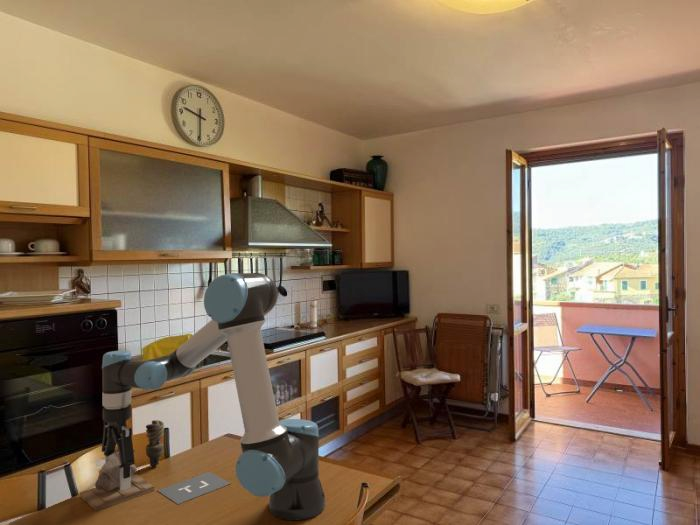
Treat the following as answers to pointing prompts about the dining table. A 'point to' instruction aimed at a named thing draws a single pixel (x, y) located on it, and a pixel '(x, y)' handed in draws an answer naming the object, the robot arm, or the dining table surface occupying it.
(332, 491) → the dining table surface
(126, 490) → the brown flat segmented slab
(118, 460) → the stone
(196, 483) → the card
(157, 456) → the dark grey lumpy column
